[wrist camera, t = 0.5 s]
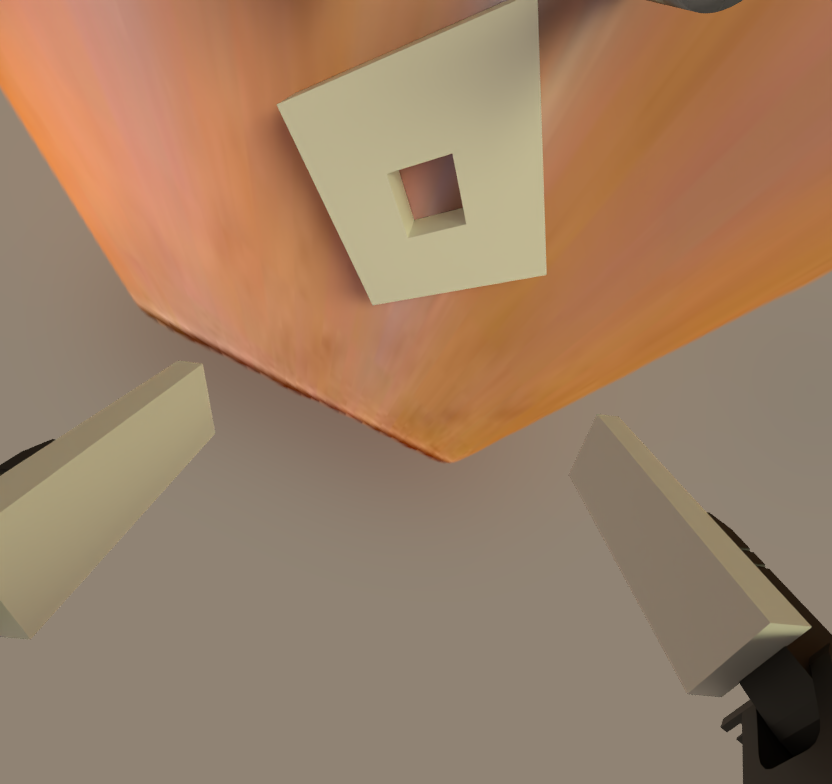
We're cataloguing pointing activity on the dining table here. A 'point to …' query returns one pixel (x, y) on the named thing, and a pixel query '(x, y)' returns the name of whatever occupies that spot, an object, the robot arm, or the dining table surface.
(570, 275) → the dining table surface
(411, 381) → the dining table surface
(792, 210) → the dining table surface
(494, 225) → the hole plate
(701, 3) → the metal pin
